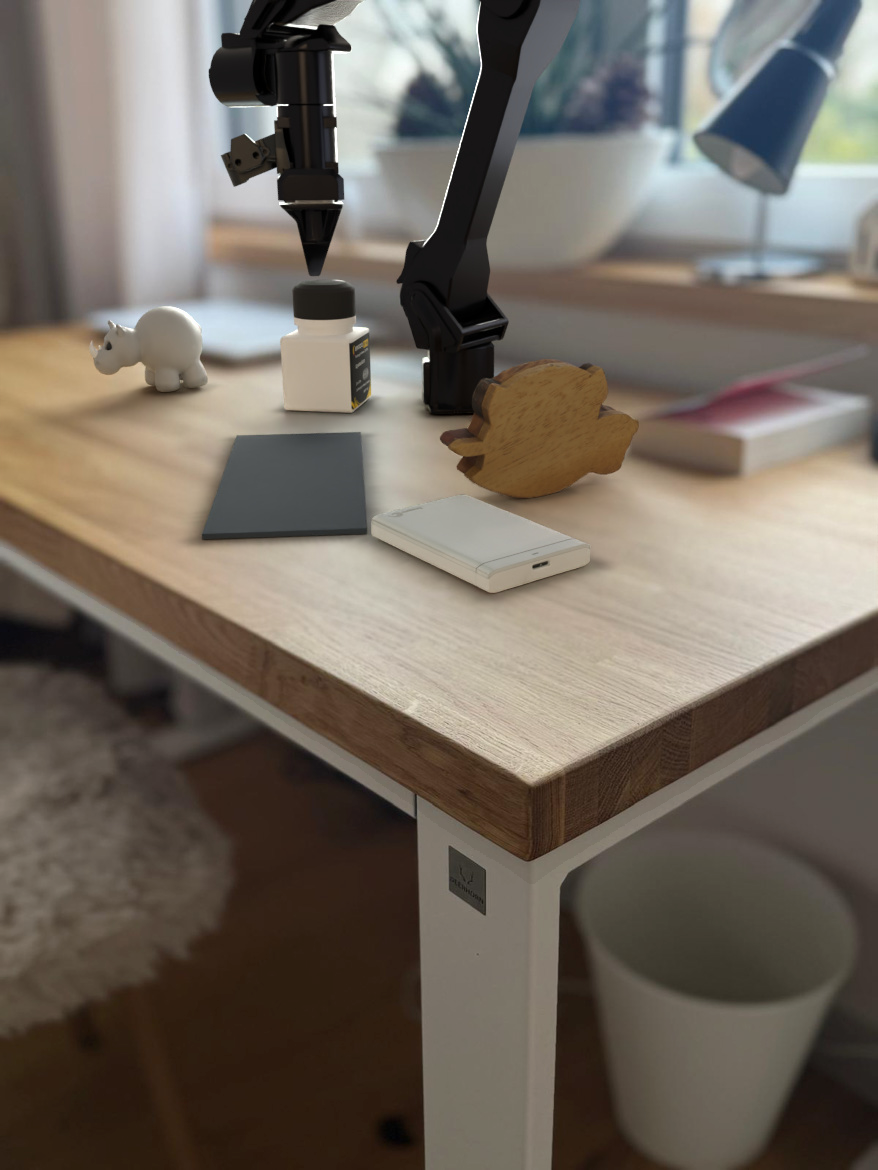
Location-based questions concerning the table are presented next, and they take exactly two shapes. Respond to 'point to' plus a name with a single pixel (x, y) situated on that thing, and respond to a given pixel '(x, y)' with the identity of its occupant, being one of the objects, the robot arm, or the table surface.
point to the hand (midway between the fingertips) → (313, 270)
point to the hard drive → (480, 542)
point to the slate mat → (290, 487)
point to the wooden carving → (541, 429)
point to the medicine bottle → (325, 350)
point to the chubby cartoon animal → (156, 349)
